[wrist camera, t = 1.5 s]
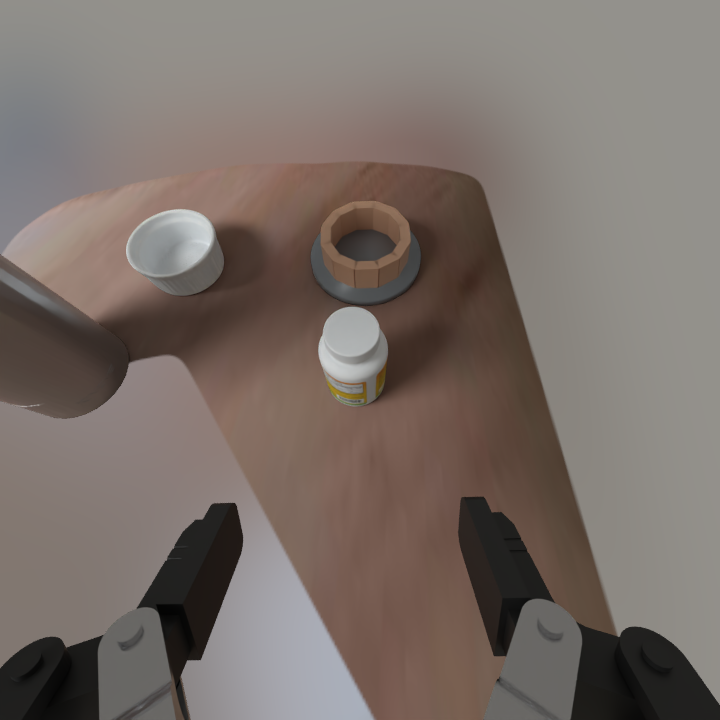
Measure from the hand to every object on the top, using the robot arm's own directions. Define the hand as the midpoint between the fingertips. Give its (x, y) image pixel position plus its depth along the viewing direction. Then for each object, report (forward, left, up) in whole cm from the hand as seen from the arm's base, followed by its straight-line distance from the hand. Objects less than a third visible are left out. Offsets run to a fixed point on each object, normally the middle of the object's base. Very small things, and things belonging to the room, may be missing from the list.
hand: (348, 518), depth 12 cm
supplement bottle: (-6, +10, -17) cm, 21 cm away
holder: (-12, +23, -17) cm, 31 cm away
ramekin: (-29, +13, -17) cm, 36 cm away
